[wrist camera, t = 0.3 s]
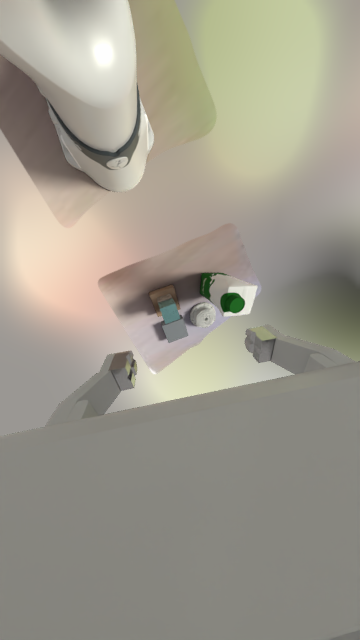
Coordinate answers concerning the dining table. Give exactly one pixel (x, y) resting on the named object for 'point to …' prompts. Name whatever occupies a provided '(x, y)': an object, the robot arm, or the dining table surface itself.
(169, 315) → the block
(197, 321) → the mechanical component
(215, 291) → the milk carton
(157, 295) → the walnut stand
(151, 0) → the dining table surface
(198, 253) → the dining table surface
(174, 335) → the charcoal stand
